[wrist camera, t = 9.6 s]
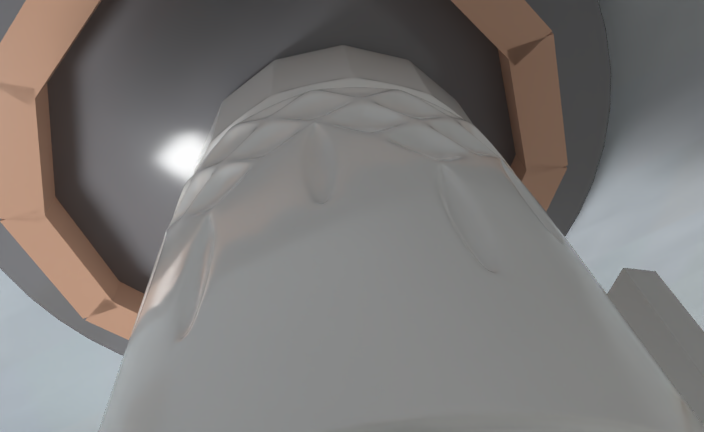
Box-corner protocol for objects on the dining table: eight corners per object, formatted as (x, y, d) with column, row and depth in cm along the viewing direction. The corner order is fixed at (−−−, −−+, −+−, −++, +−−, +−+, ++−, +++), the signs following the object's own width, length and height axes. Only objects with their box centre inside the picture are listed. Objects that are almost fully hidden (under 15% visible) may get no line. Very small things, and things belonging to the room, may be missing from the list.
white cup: (546, 60, 14) (945, 454, 5) (432, 307, 18) (562, 736, 10) (194, -25, 12) (12, 374, 4) (161, 272, 16) (41, 763, 8)
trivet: (-145, -356, 9) (-206, -378, 8) (728, -113, 12) (774, -104, 11) (-16, 354, 18) (-35, 392, 17) (477, 385, 21) (488, 418, 20)
